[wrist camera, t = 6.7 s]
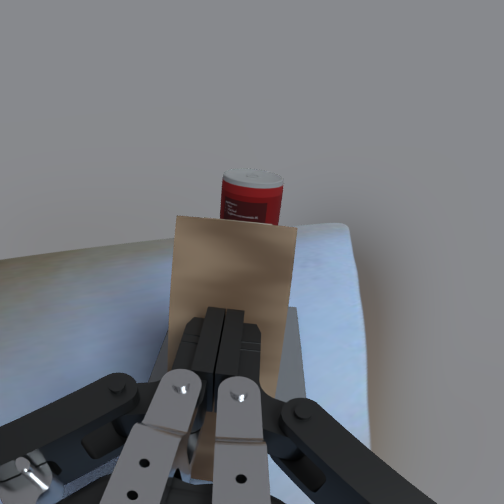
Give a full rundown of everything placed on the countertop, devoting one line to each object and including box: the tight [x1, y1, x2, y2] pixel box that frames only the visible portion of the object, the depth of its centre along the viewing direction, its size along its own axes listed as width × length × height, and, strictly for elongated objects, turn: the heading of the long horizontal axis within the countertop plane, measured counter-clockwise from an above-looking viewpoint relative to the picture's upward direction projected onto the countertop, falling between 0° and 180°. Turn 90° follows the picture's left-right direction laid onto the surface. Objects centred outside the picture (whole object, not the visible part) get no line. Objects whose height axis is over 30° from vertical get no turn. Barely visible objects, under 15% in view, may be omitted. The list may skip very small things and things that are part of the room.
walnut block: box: [167, 216, 297, 481], centre depth 16 cm, size 5×5×14 cm
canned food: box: [220, 169, 284, 226], centre depth 41 cm, size 8×8×11 cm
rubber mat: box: [148, 307, 306, 402], centre depth 26 cm, size 14×12×1 cm
